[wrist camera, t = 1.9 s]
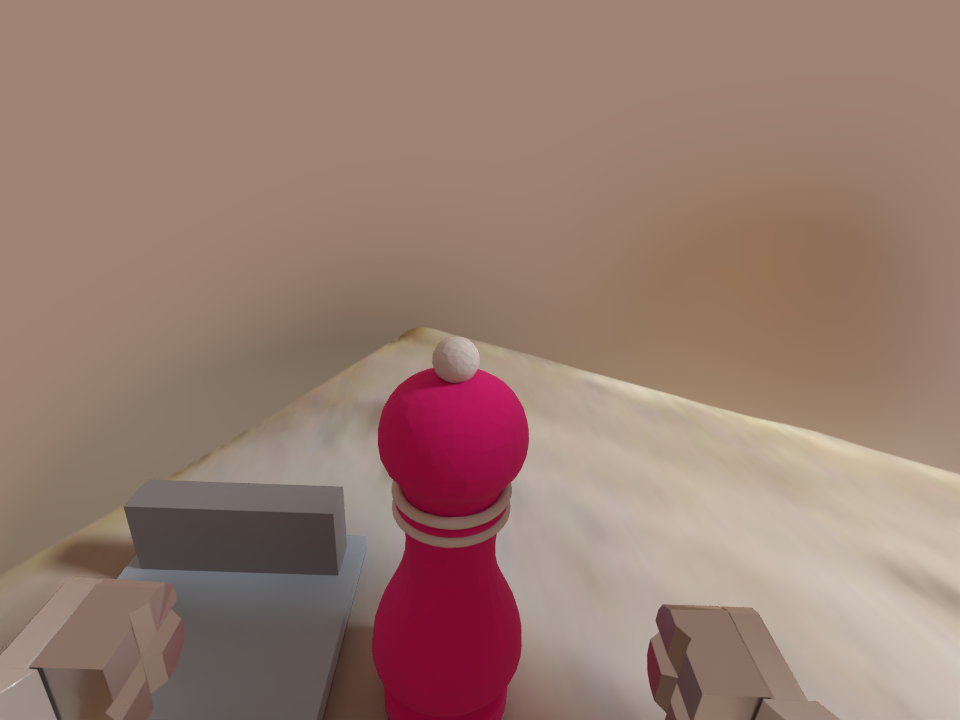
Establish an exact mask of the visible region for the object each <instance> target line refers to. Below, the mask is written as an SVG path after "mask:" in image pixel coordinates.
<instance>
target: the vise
mask: <svg viewBox="0 0 960 720" xmlns="http://www.w3.org/2000/svg"><path fill="white" fill-rule="evenodd" d="M124 510H125V513H126V517H127V521H128V524H129V528H130V531H131V535H132V539H133V542H134V546H135V549H136V554H135V556H134V557H133V558H132V559H131V561H130V562H129V563H128V565H127V566H126V567H125V569H124V570H123V571H122V572H121V574H120V575H119V576H118V578H117V579H122V580H136V581H150V582H164V583H170V584H173V585H174V589H175V592H176V596H177V601H176V602H175V604H174V605H173V607H172V609H171V610H173V611H174V612H175V613H176V614H177V615H178V616H179V617H180V618H181V619H182V622H183V627H184V640H183V647H182V650H181V653H180V657H179V660H178V664H177V665H176V667H175V669H174V671H173V673H172V675H171V677H170V679H169V681H167V682H166V683H165V684H163V685H162V686H161V687H159V688H158V689H157V690H156V691H154V692H153V693H152V694H151V696H152V702H153V710H152V712H151V714H150V715H149V717H148V719H147V720H322V719H323V716H324V712H325V708H326V704H327V700H328V696H329V692H330V688H331V684H332V680H333V676H334V673H335V669H336V665H337V661H338V657H339V653H340V649H341V645H342V641H343V637H344V634H345V630H346V626H347V622H348V618H349V614H350V610H351V606H352V602H353V598H354V594H355V591H356V587H357V583H358V579H359V575H360V571H361V567H362V563H363V559H364V555H365V552H366V541H365V536H348V535H346V524H345V509H344V495H343V487H333V486H306V485H278V484H251V483H223V482H196V481H168V480H147V481H146V482H145V483H144V484H143V485H142V486H141V487H140V489H139V490H138V491H137V492H136V493H135V494H134V495H133V497H132V498H131V499H130V500H129V501H128V502H127V503H126V504H125V505H124Z"/></svg>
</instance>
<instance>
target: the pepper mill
mask: <svg viewBox="0 0 960 720" xmlns="http://www.w3.org/2000/svg"><path fill="white" fill-rule="evenodd" d="M432 363H433V367H434V368H430V369H427V370H424V371H421V372H419V373H417V374H415V375H413V376H411V377H409V378H408V379H407V380H405V381H404V382H403V383H401V384H400V385H399V386H398V387H397V388H396V389H395V391H394V392H393V393H392V394H391V395H390V397H389V399H388V401H387V402H386V404H385V406H384V408H383V410H382V414H381V418H380V422H379V427H378V447H379V453H380V459H381V461H382V463H383V465H384V466H385V468H386V470H387V472H388V474H389V476H390V477H391V478H392V479H393V483H392V496H393V503H392V510H393V515H394V518H395V520H396V522H397V524H398V525H399V527H400V528H401V529H402V530H403V531H404V532H405V535H406V543H405V551H404V555H403V558H402V561H401V563H400V565H399V567H398V569H397V570H396V572H395V574H394V575H393V577H392V579H391V581H390V582H389V584H388V586H387V587H386V590H385V592H384V594H383V596H382V599H381V602H380V604H379V607H378V610H377V613H376V616H375V623H374V631H373V643H372V652H373V659H374V663H375V667H376V670H377V673H378V675H379V677H380V679H381V681H382V682H383V684H384V693H385V706H386V712H387V715H388V718H389V720H501V718H502V716H503V712H504V709H505V704H506V694H507V686H508V684H509V683H510V681H511V679H512V677H513V676H514V674H515V672H516V669H517V666H518V663H519V659H520V655H521V647H522V646H521V622H520V616H519V612H518V608H517V605H516V602H515V599H514V596H513V593H512V591H511V589H510V587H509V585H508V583H507V581H506V580H505V578H504V576H503V574H502V573H501V571H500V569H499V567H498V564H497V561H496V556H495V541H496V535H497V533H498V532H499V531H500V530H501V529H502V528H503V526H504V525H505V523H506V522H507V520H508V517H509V514H510V498H511V494H512V486H511V482H512V481H513V480H514V478H515V477H516V476H517V474H518V473H519V471H520V470H521V468H522V466H523V463H524V461H525V458H526V456H527V450H528V443H529V431H528V424H527V419H526V416H525V412H524V409H523V406H522V405H521V403H520V401H519V399H518V398H517V396H516V395H515V393H514V392H513V391H512V390H511V389H510V388H509V387H508V386H507V385H506V384H505V383H504V382H503V381H502V380H500V379H499V378H497V377H495V376H493V375H491V374H489V373H487V372H485V371H482V370H479V369H478V367H479V354H478V350H477V349H476V347H475V346H474V344H473V343H472V342H470V341H469V340H468V339H466V338H463V337H457V336H454V337H450V338H446V339H445V340H443V341H442V342H441V343H439V344H438V345H437V347H436V348H435V351H434V353H433V360H432Z"/></svg>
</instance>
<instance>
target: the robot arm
mask: <svg viewBox="0 0 960 720" xmlns="http://www.w3.org/2000/svg"><path fill="white" fill-rule="evenodd" d="M176 601H177V596H176V592H175V589H174V585H173V584H170V583H164V582H150V581H136V580H122V579H108V578H107V579H102V578H87V577H75V578H73V579H71V580H69V581H67V582H66V583H64V584H63V585H62V586H61V587H60V588H59V590H58V591H57V592H56V593H55V594H54V595H53V596H52V597H51V599H50V600H49V601H48V602H47V603H46V604H45V605H44V606H43V608H42V609H41V610H40V611H39V612H38V613H37V614H36V615H35V617H34V618H33V619H32V620H31V621H30V622H29V623H28V624H27V626H26V627H25V628H24V629H23V630H22V631H21V632H20V633H19V635H18V636H17V637H16V638H15V639H14V640H13V641H12V642H11V644H10V645H9V646H8V647H7V648H6V649H5V650H4V651H3V653H2V654H1V655H0V720H147V719H148V717H149V715H150V714H151V712H152V710H153V702H152V696H151V694H152V693H153V692H154V691H156V690H157V689H158V688H159V687H161V686H162V685H163V684H165V683H166V682H167V681H169V679H170V677H171V675H172V673H173V671H174V669H175V667H176V665H177V664H178V660H179V657H180V653H181V650H182V647H183V640H184V627H183V622H182V619H181V618H180V617H179V616H178V615H177V614H176V613H175V612H174V611H173V610H171V609H172V607H173V605H174V604H175V602H176ZM656 623H657V626H658V629H659V633H658V634H656V635H655V636H654V637H653V638H651V639H650V644H649V648H648V653H647V671H648V677H649V683H650V687H651V691H652V694H653V698H654V701H655V702H656V703H657V704H658V705H659V706H660V707H661V708H662V709H663V710H664V711H665V712H666V713H667V714H666V718H665V720H840V719H839V718H837V717H836V716H835V715H834V714H832V713H831V712H830V711H829V710H828V709H826V708H825V707H824V706H823V705H821V704H820V703H819V702H818V701H808V700H807V698H806V696H805V694H804V693H803V691H802V689H801V687H800V686H799V684H798V682H797V680H796V679H795V677H794V675H793V673H792V672H791V670H790V668H789V666H788V664H787V663H786V661H785V659H784V657H783V656H782V654H781V652H780V650H779V649H778V647H777V645H776V643H775V642H774V640H773V638H772V636H771V635H770V633H769V631H768V629H767V627H766V626H765V624H764V622H763V620H762V619H761V617H760V615H759V613H758V612H756V611H755V610H754V609H753V608H744V607H719V606H698V605H667V604H663V605H662V606H661V607H660V609H659V610H658V614H657V617H656Z"/></svg>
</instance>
